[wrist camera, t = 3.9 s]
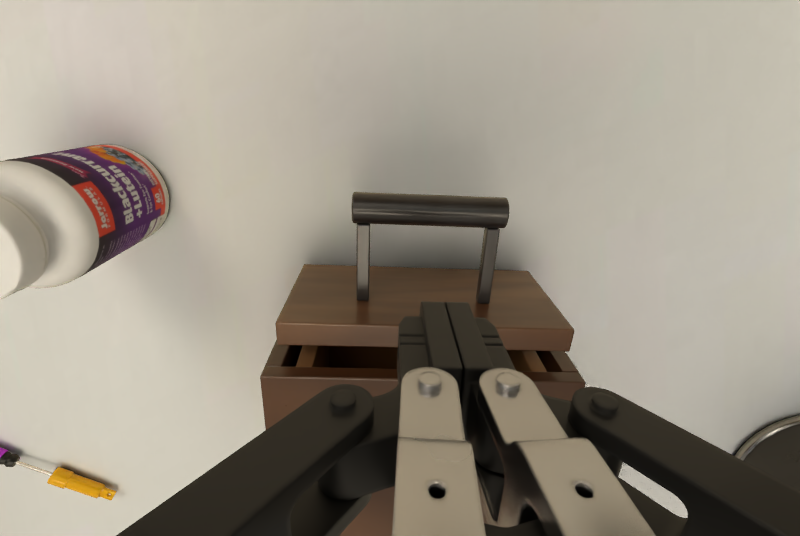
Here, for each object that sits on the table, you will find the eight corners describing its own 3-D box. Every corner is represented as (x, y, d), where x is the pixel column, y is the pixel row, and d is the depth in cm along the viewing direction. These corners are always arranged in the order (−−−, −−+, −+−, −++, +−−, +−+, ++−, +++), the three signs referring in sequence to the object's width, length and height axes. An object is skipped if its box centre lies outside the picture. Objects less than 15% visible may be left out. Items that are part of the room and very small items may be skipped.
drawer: (299, 172, 22) (264, 203, 16) (544, 182, 23) (602, 215, 17) (311, 427, 29) (291, 519, 23) (499, 430, 30) (529, 520, 24)
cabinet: (298, 290, 26) (259, 376, 18) (527, 296, 27) (586, 382, 19) (307, 452, 31) (280, 574, 24) (498, 455, 32) (535, 574, 24)
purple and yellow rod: (-121, 414, 29) (114, 496, 32) (-140, 424, 27) (106, 508, 31) (-106, 382, 28) (130, 468, 32) (-124, 390, 27) (122, 479, 31)
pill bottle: (192, 196, 24) (73, 260, 15) (134, 255, 25) (-8, 346, 16) (109, 120, 22) (-82, 139, 13) (52, 187, 23) (-158, 246, 14)
